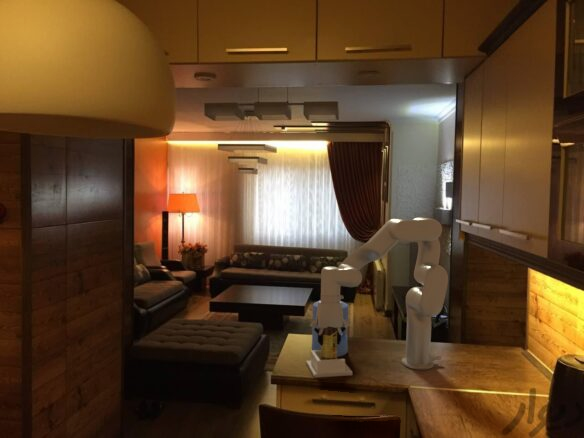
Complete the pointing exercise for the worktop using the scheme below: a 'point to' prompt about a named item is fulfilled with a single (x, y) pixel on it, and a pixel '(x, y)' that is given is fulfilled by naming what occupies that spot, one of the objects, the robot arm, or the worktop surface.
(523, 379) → the worktop surface
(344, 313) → the water jug
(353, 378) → the worktop surface
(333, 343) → the sauce bottle
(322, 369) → the end holder
